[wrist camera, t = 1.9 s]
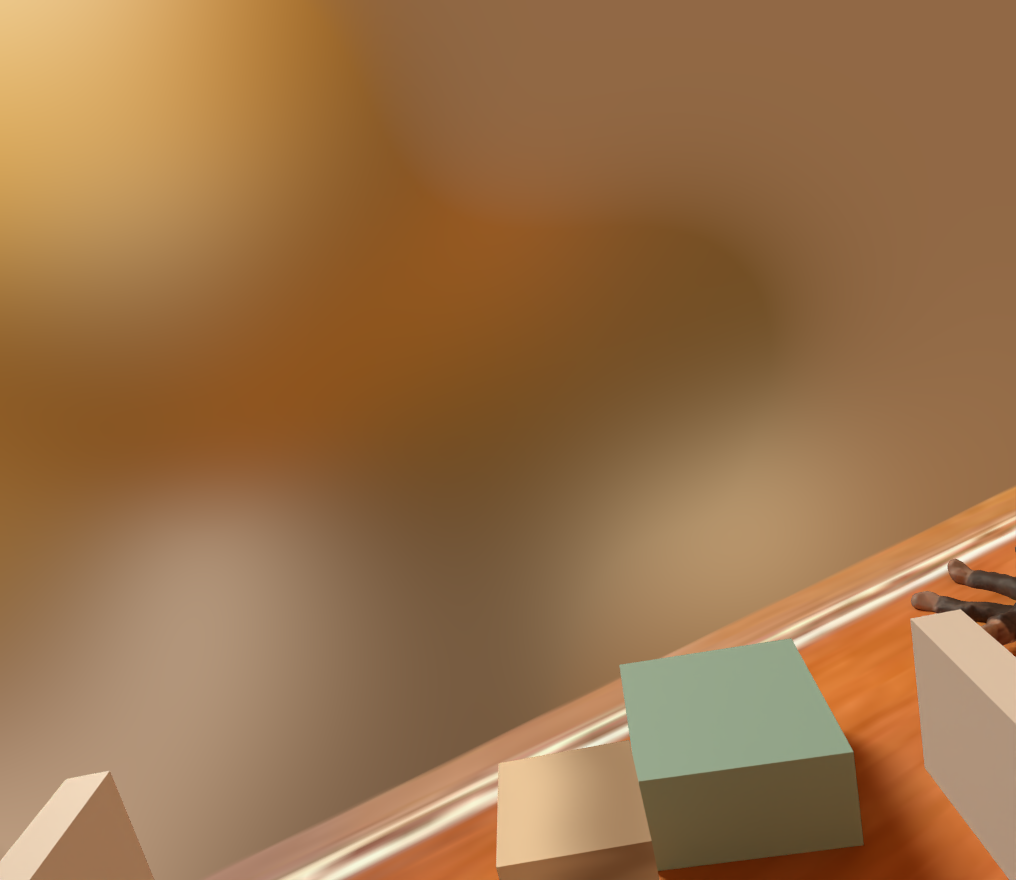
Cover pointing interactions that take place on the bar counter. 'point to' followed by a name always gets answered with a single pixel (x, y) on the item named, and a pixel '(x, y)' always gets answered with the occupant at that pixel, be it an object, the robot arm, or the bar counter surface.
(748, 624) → the bar counter surface
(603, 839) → the block
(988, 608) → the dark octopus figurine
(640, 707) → the green square block
